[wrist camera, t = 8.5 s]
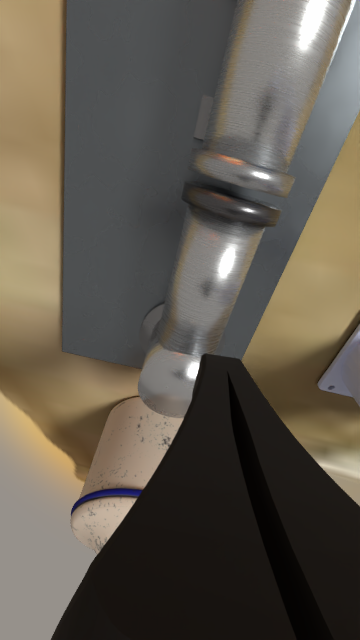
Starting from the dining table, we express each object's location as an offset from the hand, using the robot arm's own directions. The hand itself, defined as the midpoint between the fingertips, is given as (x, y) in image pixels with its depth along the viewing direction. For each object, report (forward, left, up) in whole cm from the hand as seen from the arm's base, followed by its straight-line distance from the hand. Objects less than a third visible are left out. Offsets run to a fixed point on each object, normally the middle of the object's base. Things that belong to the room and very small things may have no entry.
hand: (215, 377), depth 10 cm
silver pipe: (0, +1, -9) cm, 9 cm away
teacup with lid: (0, +16, -10) cm, 19 cm away
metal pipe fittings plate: (+2, -4, -10) cm, 11 cm away
